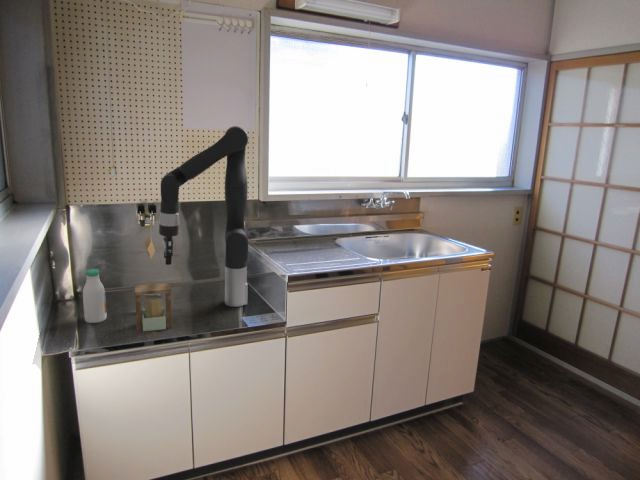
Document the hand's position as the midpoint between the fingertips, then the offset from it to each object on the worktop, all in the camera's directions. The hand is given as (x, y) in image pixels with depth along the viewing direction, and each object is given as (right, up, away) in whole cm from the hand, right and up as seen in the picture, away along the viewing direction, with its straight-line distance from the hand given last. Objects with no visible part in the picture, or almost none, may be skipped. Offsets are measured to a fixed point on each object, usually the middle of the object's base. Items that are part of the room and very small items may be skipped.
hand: (167, 261), depth 190 cm
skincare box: (0, -24, -14) cm, 28 cm away
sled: (-2, -22, -9) cm, 24 cm away
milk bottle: (-24, -22, -12) cm, 35 cm away
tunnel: (0, -24, -14) cm, 28 cm away
